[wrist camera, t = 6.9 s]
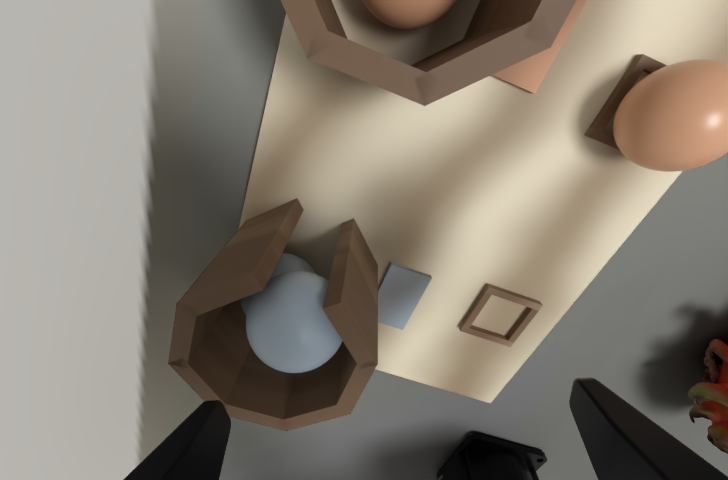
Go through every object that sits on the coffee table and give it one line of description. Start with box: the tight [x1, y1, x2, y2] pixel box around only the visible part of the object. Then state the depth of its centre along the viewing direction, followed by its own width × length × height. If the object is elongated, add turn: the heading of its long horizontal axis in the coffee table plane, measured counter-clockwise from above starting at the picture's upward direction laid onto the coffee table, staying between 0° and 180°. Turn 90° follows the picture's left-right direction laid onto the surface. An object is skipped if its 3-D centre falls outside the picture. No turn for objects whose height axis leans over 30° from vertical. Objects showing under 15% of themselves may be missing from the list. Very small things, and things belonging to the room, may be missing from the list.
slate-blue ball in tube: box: [240, 253, 316, 316], centre depth 18 cm, size 4×4×4 cm
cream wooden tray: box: [168, 0, 728, 431], centre depth 14 cm, size 19×26×8 cm
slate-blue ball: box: [246, 271, 342, 373], centre depth 14 cm, size 4×4×4 cm
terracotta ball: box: [613, 59, 728, 172], centre depth 13 cm, size 4×4×4 cm
